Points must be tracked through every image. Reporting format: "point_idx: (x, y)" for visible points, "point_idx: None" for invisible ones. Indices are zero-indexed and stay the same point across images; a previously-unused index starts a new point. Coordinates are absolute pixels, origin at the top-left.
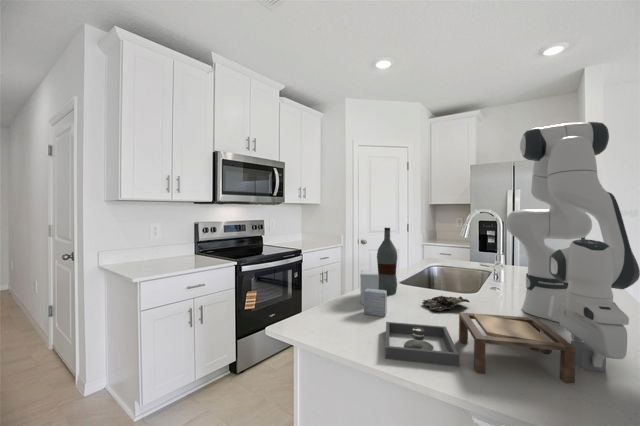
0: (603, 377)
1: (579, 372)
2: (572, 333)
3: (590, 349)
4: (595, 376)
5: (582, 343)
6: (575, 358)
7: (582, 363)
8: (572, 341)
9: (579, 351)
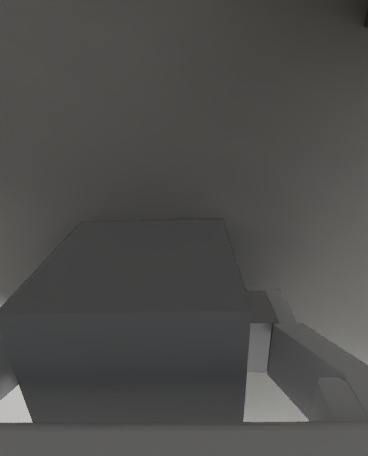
0: (18, 288)
1: (22, 182)
2: (324, 434)
3: (48, 387)
4: (9, 253)
5: (196, 389)
6: (154, 236)
7: (64, 242)
8: (237, 323)
9: (72, 285)
